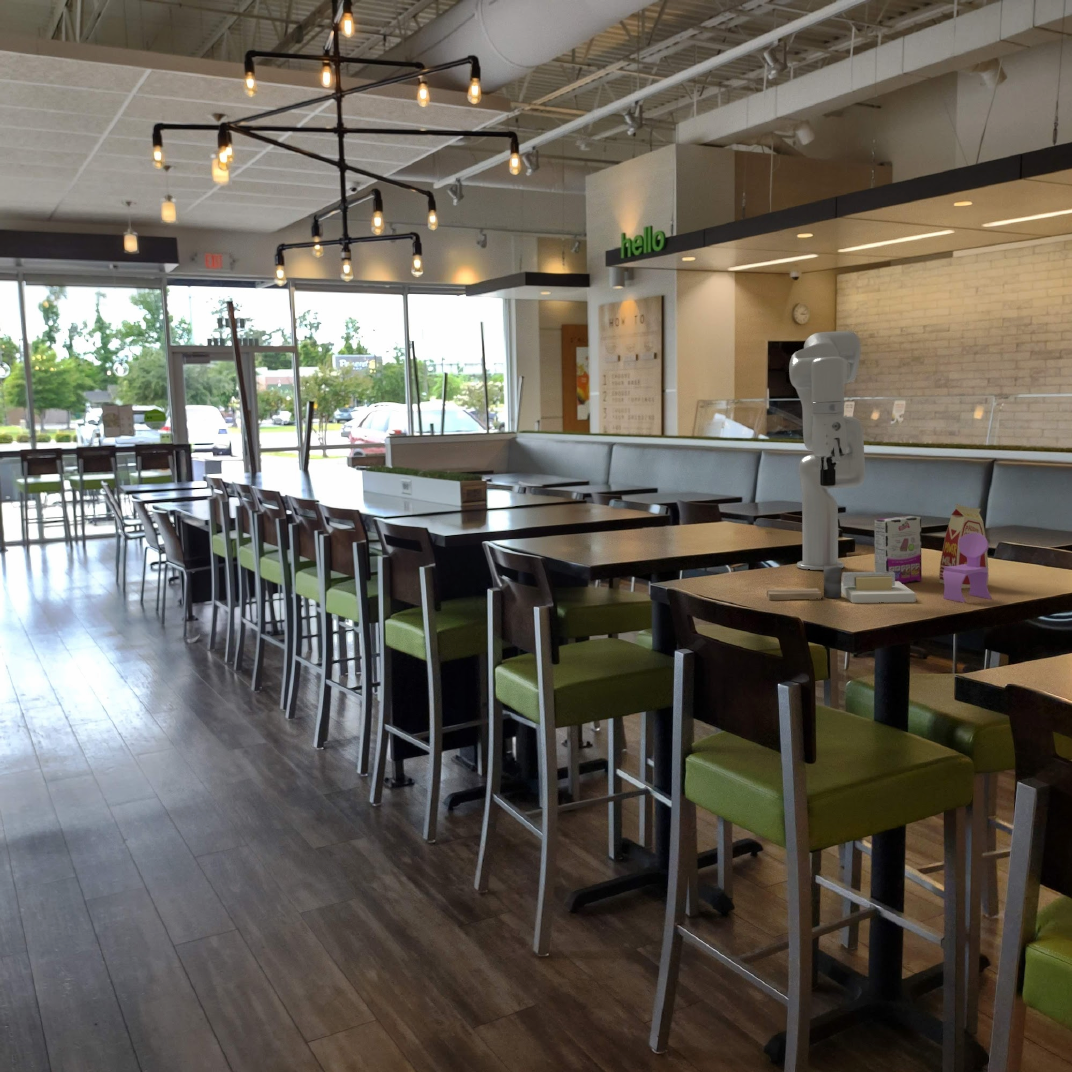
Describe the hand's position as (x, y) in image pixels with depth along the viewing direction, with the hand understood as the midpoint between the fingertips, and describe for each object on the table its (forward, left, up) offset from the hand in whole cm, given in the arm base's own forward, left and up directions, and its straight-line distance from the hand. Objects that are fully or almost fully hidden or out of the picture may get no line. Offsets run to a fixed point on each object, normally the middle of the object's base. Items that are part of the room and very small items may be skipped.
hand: (827, 485), depth 245 cm
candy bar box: (-9, +18, -26) cm, 33 cm away
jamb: (+9, -7, -26) cm, 28 cm away
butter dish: (+9, +9, -26) cm, 29 cm away
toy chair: (+14, +28, -26) cm, 41 cm away
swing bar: (+9, +8, -23) cm, 26 cm away
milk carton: (-5, +33, -26) cm, 43 cm away
